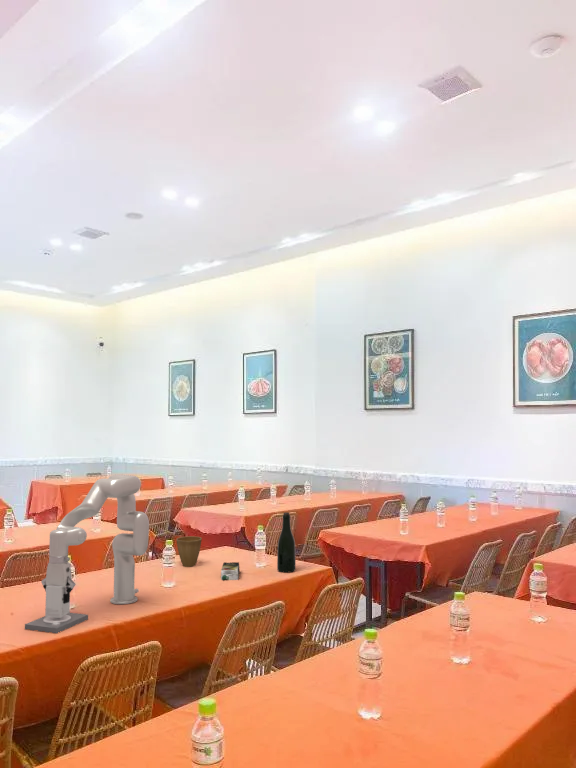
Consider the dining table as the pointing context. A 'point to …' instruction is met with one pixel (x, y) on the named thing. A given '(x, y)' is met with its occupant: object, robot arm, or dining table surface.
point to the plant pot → (189, 550)
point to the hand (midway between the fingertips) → (57, 601)
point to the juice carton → (230, 571)
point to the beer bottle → (286, 547)
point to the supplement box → (56, 602)
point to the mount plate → (56, 622)
